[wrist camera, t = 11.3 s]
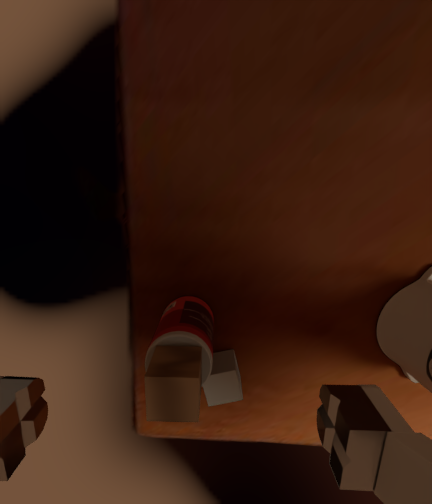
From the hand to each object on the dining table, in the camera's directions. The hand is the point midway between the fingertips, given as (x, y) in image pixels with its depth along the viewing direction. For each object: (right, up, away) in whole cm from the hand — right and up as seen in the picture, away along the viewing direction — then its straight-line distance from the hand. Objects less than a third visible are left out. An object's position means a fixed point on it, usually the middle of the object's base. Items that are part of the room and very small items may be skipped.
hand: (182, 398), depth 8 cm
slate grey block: (+2, -14, +36) cm, 38 cm away
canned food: (-3, -6, +34) cm, 34 cm away
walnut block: (-3, -8, +23) cm, 25 cm away
